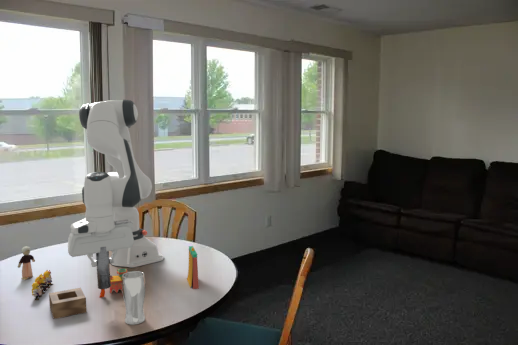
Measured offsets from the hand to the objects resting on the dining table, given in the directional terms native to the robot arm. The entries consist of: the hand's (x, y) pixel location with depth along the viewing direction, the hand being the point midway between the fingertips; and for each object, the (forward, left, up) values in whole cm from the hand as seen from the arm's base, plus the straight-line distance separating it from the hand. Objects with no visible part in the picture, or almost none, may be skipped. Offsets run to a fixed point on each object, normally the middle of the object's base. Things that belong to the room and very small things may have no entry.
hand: (103, 264), depth 153 cm
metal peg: (0, 0, -8) cm, 8 cm away
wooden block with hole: (+11, -7, -16) cm, 20 cm away
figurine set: (+16, -28, -16) cm, 36 cm away
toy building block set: (-19, -13, -16) cm, 28 cm away
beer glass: (-6, +12, -16) cm, 21 cm away
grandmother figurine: (+20, -47, -16) cm, 53 cm away
